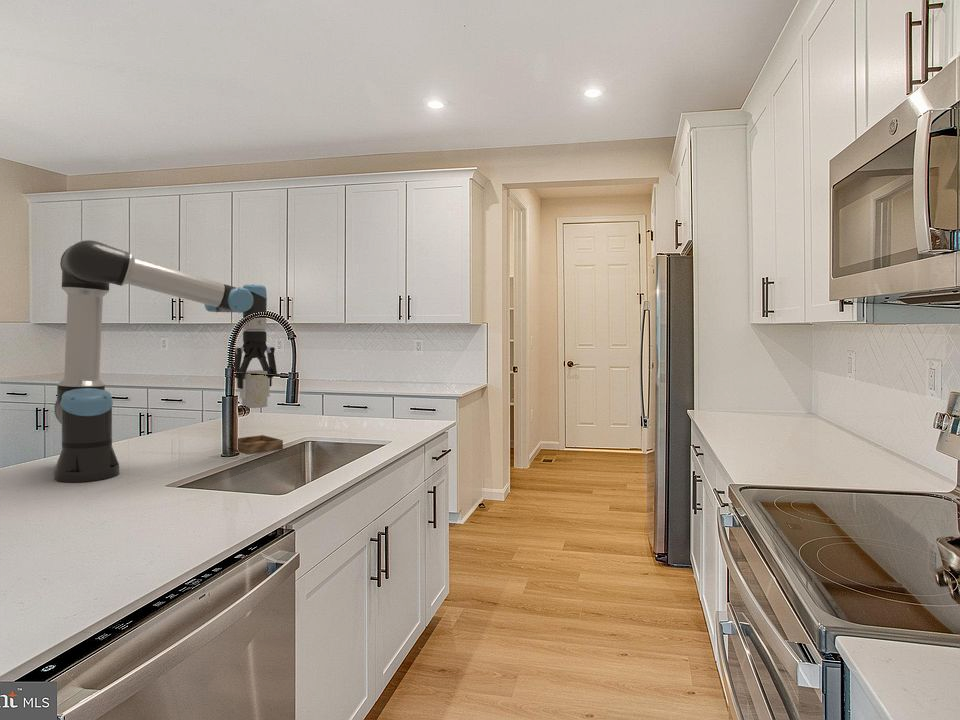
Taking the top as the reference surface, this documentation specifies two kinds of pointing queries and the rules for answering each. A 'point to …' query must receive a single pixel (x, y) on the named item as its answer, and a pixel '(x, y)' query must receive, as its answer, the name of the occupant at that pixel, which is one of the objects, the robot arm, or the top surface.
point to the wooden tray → (258, 444)
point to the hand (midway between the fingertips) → (254, 397)
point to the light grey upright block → (255, 389)
